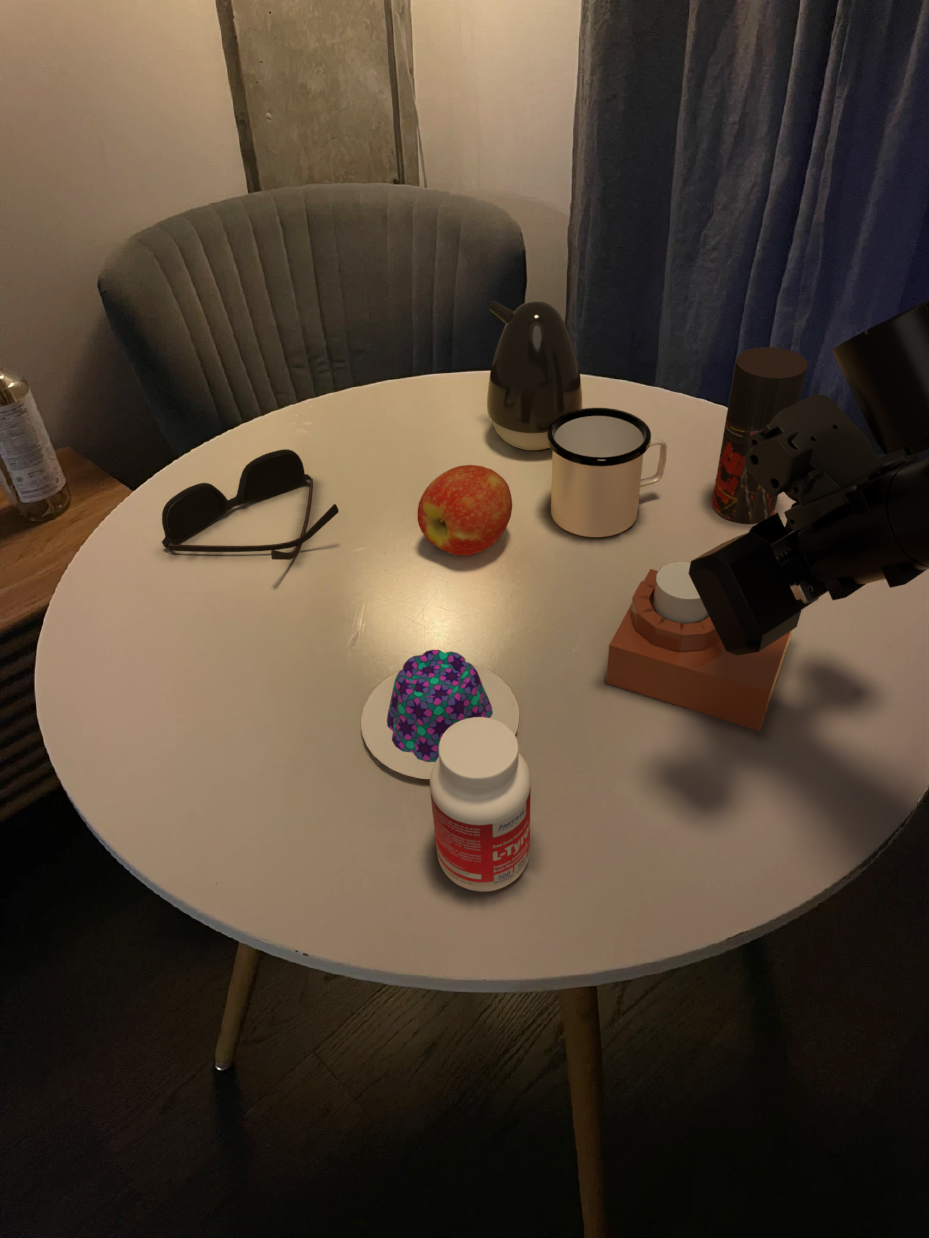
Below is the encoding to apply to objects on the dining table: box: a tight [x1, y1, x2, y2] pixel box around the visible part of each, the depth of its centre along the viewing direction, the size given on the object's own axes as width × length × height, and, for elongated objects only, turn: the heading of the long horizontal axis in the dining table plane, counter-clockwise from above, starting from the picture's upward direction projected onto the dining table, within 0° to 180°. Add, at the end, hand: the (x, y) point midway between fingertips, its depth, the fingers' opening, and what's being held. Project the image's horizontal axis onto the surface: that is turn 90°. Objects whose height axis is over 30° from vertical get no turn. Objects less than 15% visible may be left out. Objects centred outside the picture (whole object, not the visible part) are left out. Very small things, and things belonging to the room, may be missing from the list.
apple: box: [416, 464, 513, 556], centre depth 82 cm, size 8×8×8 cm
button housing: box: [605, 568, 793, 731], centre depth 69 cm, size 12×10×6 cm
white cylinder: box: [653, 561, 709, 624], centre depth 67 cm, size 4×4×3 cm
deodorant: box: [711, 346, 809, 525], centre depth 82 cm, size 6×6×15 cm
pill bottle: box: [429, 717, 532, 892], centre depth 55 cm, size 6×6×11 cm
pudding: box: [360, 649, 520, 780], centre depth 66 cm, size 12×12×5 cm
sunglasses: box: [161, 448, 340, 561], centre depth 84 cm, size 17×14×5 cm
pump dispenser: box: [486, 300, 583, 451], centre depth 93 cm, size 10×10×15 cm
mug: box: [547, 407, 668, 538], centre depth 84 cm, size 12×10×9 cm
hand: (732, 572), depth 62 cm, fingers closed
